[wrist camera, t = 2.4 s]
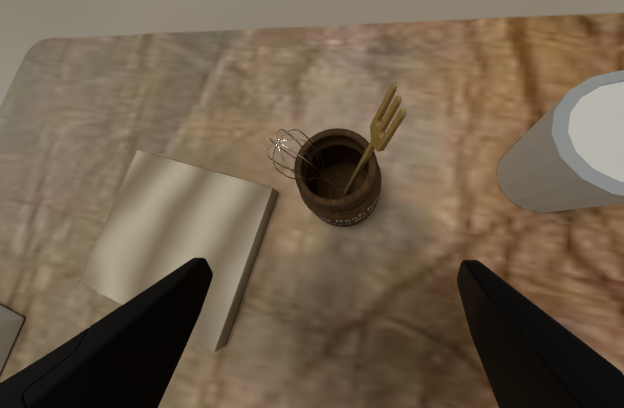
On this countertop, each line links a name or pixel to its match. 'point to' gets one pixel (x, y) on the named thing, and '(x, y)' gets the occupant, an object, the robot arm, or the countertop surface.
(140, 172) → the ash cloth
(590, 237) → the countertop surface
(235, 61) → the countertop surface
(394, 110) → the utensil holder
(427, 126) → the countertop surface
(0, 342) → the medicine bottle
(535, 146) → the white cup
